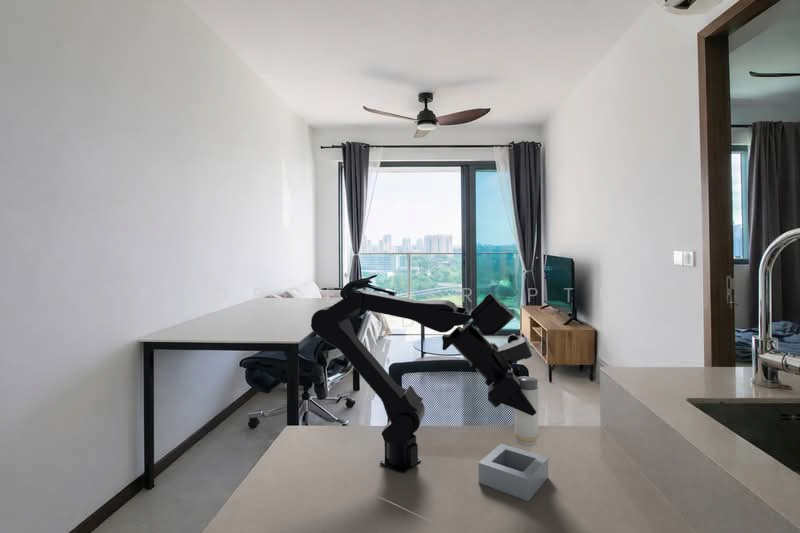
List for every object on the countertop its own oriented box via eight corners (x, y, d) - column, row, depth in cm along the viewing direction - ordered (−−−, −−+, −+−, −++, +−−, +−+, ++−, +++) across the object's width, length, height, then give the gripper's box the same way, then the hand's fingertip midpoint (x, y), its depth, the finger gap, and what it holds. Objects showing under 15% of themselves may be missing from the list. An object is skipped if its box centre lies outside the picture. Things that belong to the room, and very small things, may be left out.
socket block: (478, 482, 84) (478, 462, 84) (501, 461, 92) (501, 443, 91) (528, 501, 78) (528, 479, 77) (548, 477, 85) (548, 457, 85)
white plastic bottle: (509, 440, 86) (510, 378, 86) (523, 434, 89) (524, 374, 88) (528, 448, 83) (530, 384, 82) (542, 441, 85) (543, 379, 85)
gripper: (507, 333, 76) (572, 400, 74) (506, 316, 94) (558, 369, 93) (462, 374, 79) (524, 440, 77) (469, 349, 97) (520, 402, 95)
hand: (533, 409), depth 85 cm, fingers closed on white plastic bottle, 4 cm apart
